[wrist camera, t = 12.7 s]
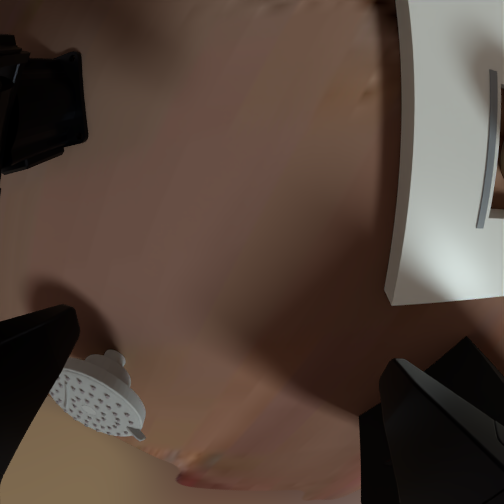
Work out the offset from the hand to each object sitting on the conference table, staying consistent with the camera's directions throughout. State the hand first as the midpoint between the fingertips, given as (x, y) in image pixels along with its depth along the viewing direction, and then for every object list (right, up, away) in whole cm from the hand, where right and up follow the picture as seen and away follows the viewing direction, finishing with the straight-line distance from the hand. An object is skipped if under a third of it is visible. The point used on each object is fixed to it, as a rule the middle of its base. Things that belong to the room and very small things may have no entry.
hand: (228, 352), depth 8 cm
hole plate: (+21, +10, +8) cm, 24 cm away
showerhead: (-12, -8, +20) cm, 24 cm away
